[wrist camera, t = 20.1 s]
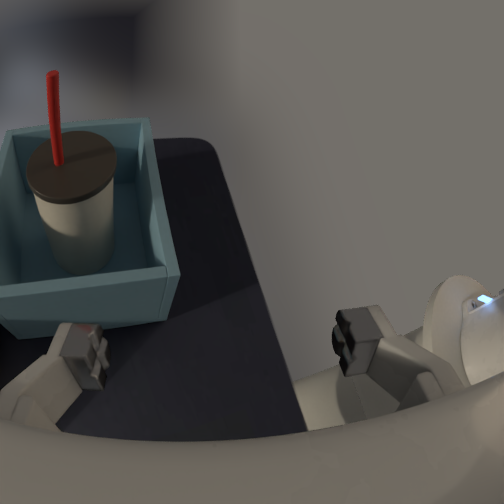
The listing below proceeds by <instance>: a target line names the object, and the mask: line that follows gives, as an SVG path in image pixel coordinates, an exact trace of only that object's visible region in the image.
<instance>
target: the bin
mask: <svg viewBox="0 0 504 504" xmlns="http://www.w3.org/2000/svg"><path fill="white" fill-rule="evenodd" d="M70 131H89V132H93V133H96V134H99V135H101V136H103V137H104V138H106V139H107V140H108V141H109V142H110V143H111V144H112V145H113V147H114V149H115V151H116V155H117V167H116V172H115V174H114V176H113V215H114V244H115V246H114V252H113V255H112V257H111V259H110V260H109V262H108V263H107V264H106V265H105V266H104V267H103V268H102V269H100V270H99V271H97V272H95V273H92V274H88V275H75V274H71V273H69V272H67V271H65V270H63V269H62V268H61V267H60V266H59V265H58V263H57V262H56V260H55V258H54V255H53V252H52V250H51V247H50V244H49V241H48V238H47V235H46V232H45V229H44V226H43V223H42V220H41V217H40V213H39V210H38V207H37V203H36V200H35V196H34V193H33V192H32V190H31V189H30V187H29V184H28V181H27V177H26V167H27V163H28V161H29V158H30V156H31V155H32V153H33V152H34V151H35V149H36V148H37V147H38V146H39V145H41V144H42V143H43V142H45V141H46V140H48V139H49V138H51V135H50V126H49V124H48V125H41V126H33V127H27V128H20V129H15V130H8V131H6V134H5V137H4V140H3V143H2V147H1V150H0V324H2V325H3V326H4V327H5V328H6V329H7V330H8V331H9V332H10V333H12V334H13V335H14V336H15V337H16V338H17V339H18V340H20V339H30V338H39V337H48V336H55V334H56V331H57V329H58V327H59V325H60V324H61V323H62V322H65V323H95V324H100V325H101V326H102V329H103V330H104V329H111V328H118V327H125V326H132V325H138V324H145V323H151V322H158V321H164V320H167V317H168V314H169V310H170V307H171V304H172V300H173V297H174V294H175V291H176V288H177V284H178V281H179V278H180V270H179V266H178V262H177V258H176V253H175V249H174V245H173V240H172V236H171V231H170V227H169V222H168V217H167V212H166V208H165V203H164V198H163V193H162V188H161V182H160V177H159V172H158V166H157V161H156V155H155V149H154V143H153V137H152V131H151V125H150V118H121V119H102V120H88V121H77V122H67V123H61V133H65V132H70Z"/></svg>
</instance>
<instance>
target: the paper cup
mask: <svg viewBox="0 0 504 504" xmlns="http://www.w3.org/2000/svg"><path fill="white" fill-rule="evenodd" d="M46 80H47V81H46V82H47V101H48V113H49V126H50V135H51V138H49V139H48V140H46V141H45V142H43V143H42V144H41V145H39V146H38V147H37V148H36V149H35V151H34V152H33V153H32V155H31V156H30V158H29V161H28V163H27V167H26V177H27V181H28V184H29V187H30V189H31V190H32V192H33V193H34V196H35V200H36V203H37V207H38V210H39V213H40V217H41V220H42V223H43V226H44V229H45V232H46V235H47V238H48V241H49V244H50V247H51V250H52V252H53V255H54V258H55V260H56V262H57V263H58V265H59V266H60V267H61V268H62V269H63V270H65V271H67V272H69V273H71V274H75V275H88V274H92V273H95V272H97V271H99V270H100V269H102V268H103V267H104V266H105V265H106V264H107V263H108V262H109V260H110V259H111V257H112V255H113V252H114V246H115V244H114V215H113V176H114V174H115V172H116V167H117V155H116V151H115V149H114V147H113V145H112V144H111V143H110V142H109V141H108V140H107V139H106V138H104V137H103V136H101V135H99V134H96V133H93V132H89V131H70V132H65V133H61V123H60V106H59V72H58V71H56V70H53V71H50V72H48V73H47V75H46Z"/></svg>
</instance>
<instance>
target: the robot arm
mask: <svg viewBox="0 0 504 504" xmlns="http://www.w3.org/2000/svg"><path fill="white" fill-rule="evenodd" d="M462 312H463V324H462V329H461V353H462V360H463V364H464V368H465V372H466V375H467V377H468V380H469V382H470V384H471V386H469V387H466V388H465V387H464V385H463V383H462V382H461V380H460V378H459V377H458V375H457V373H456V372H455V370H454V369H453V367H452V365H451V364H450V363H449V362H447V361H445V360H443V359H442V358H440V357H438V356H437V355H435V354H433V353H431V352H430V351H428V350H426V349H425V348H423V347H421V346H420V345H418V344H416V343H414V342H413V341H411V340H409V339H408V338H406V337H404V336H402V335H397V334H396V332H395V330H394V329H393V327H392V325H391V324H390V322H389V320H388V319H387V317H386V316H385V314H384V312H383V311H382V309H381V308H380V306H378V305H373V306H366V307H359V308H352V309H345V310H339V311H338V312H337V314H336V318H335V319H336V321H337V325H336V326H335V327H334V328H333V332H332V345H333V349H334V351H335V353H336V354H337V355H338V356H340V361H339V364H340V367H341V369H342V372H343V374H344V377H347V376H354V375H360V374H366V373H367V374H366V375H368V376H369V377H370V378H371V379H372V380H373V381H375V382H376V383H377V384H378V385H379V386H381V387H382V388H383V389H384V390H385V391H386V392H388V393H389V394H390V395H391V396H392V397H394V398H395V399H396V400H397V401H398V402H400V405H399V406H398V408H397V409H396V411H395V412H393V413H389V414H386V415H382V416H378V417H374V418H370V419H366V420H362V421H358V422H354V423H349V424H344V425H340V426H335V427H330V428H324V429H319V430H313V431H307V432H301V433H294V434H287V435H279V436H271V437H262V438H252V439H240V440H225V441H201V442H160V441H137V440H122V439H111V438H101V437H92V436H85V435H77V434H71V433H64V432H61V430H60V429H59V428H58V427H57V426H56V425H55V424H56V422H57V421H58V420H59V419H60V417H61V416H62V415H63V414H64V413H65V411H66V410H67V409H68V408H69V407H70V406H71V404H72V403H73V402H74V401H75V400H76V398H77V397H78V396H79V395H80V394H81V393H82V390H92V391H104V386H105V382H106V378H107V375H106V373H105V370H106V369H107V368H108V367H109V365H110V360H111V351H110V346H109V343H108V341H107V340H106V339H105V338H103V337H102V336H103V333H104V331H103V329H102V326H101V325H100V324H95V323H65V322H62V323H61V324H60V325H59V327H58V329H57V331H56V334H55V336H54V338H53V340H52V343H51V345H50V347H49V350H48V352H47V355H42V356H41V357H40V358H39V359H37V360H36V361H35V362H34V363H32V364H31V365H30V366H29V367H27V368H26V369H25V370H24V371H23V372H21V373H20V374H19V375H18V376H17V377H15V378H14V379H13V380H12V381H11V382H9V383H8V384H7V385H6V386H5V387H3V388H2V389H1V391H0V504H504V289H503V290H501V291H500V292H499V296H492V297H487V296H485V295H482V296H480V297H478V298H473V299H467V300H465V301H463V302H462Z"/></svg>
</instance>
